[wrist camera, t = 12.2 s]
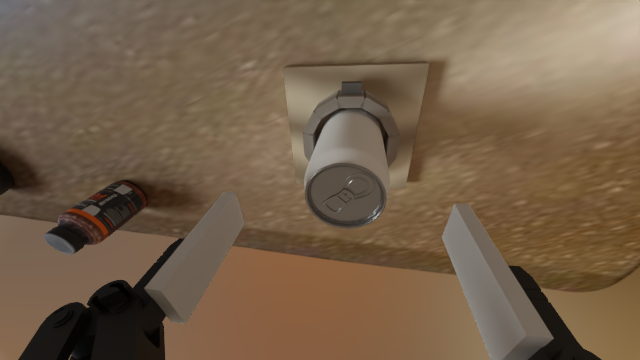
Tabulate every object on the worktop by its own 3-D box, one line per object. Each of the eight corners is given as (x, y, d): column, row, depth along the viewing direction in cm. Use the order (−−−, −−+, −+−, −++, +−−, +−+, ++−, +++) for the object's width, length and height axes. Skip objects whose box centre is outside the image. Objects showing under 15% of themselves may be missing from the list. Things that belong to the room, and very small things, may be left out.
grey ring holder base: (286, 65, 24) (273, 71, 20) (426, 61, 22) (439, 67, 18) (299, 177, 32) (290, 196, 28) (403, 181, 30) (409, 203, 26)
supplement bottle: (125, 173, 37) (44, 222, 27) (155, 200, 39) (90, 253, 30) (108, 187, 39) (28, 236, 30) (137, 211, 41) (71, 264, 32)
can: (393, 134, 25) (414, 201, 15) (351, 169, 28) (345, 244, 18) (351, 91, 23) (343, 136, 13) (311, 134, 26) (281, 196, 16)
